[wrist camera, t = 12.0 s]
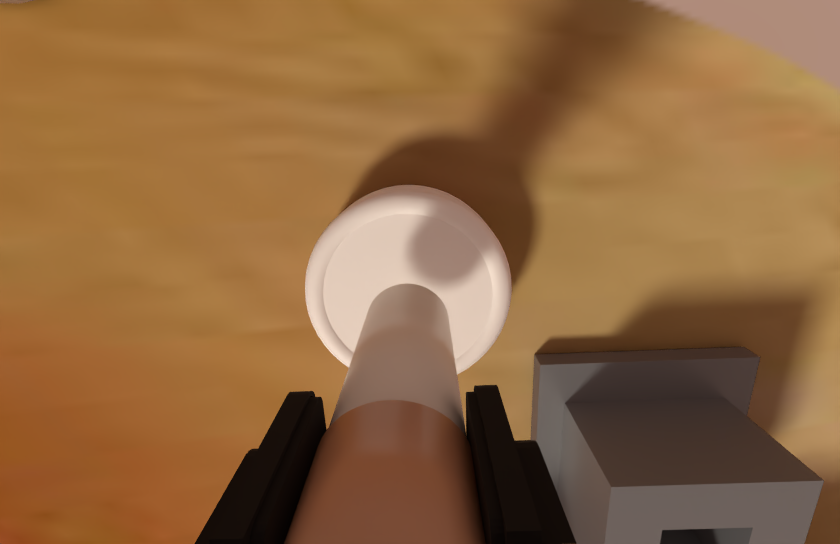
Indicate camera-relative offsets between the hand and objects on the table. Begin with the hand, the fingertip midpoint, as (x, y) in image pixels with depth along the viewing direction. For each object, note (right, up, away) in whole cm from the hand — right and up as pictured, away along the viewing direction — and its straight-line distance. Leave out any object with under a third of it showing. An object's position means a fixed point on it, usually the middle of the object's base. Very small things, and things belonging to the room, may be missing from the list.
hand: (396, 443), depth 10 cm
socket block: (+13, -7, +16) cm, 22 cm away
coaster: (0, +4, +13) cm, 13 cm away
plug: (0, +2, +7) cm, 7 cm away
